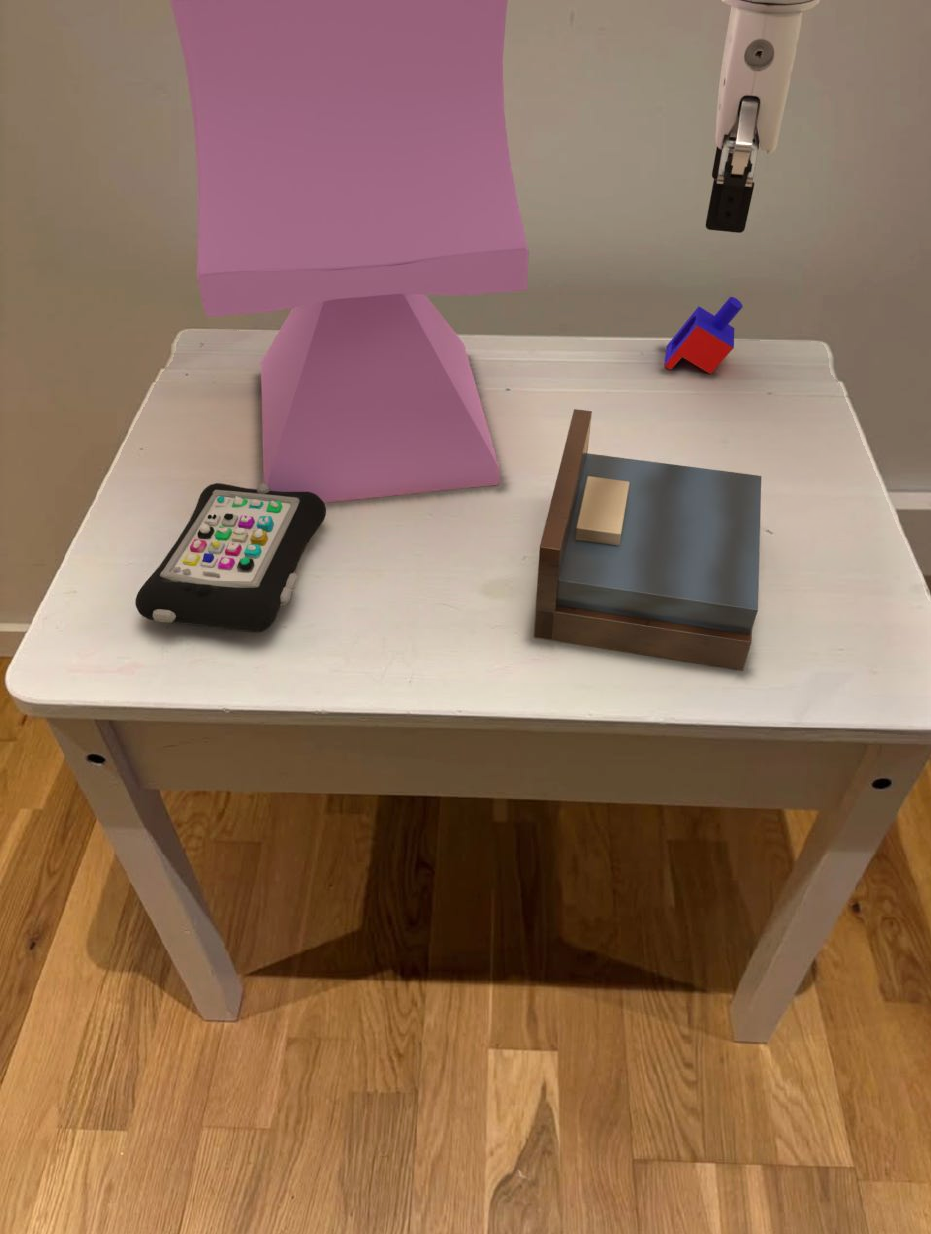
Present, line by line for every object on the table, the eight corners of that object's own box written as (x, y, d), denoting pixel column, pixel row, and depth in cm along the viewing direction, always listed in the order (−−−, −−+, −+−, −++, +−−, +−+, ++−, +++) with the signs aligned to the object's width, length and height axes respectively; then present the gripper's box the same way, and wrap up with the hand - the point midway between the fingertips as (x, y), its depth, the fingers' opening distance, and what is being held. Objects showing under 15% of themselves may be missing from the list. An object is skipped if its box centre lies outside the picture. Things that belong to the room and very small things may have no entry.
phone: (333, 517, 81) (327, 474, 78) (278, 654, 71) (268, 612, 68) (209, 503, 83) (198, 461, 79) (137, 636, 72) (121, 594, 69)
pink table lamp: (518, 493, 83) (548, -190, 50) (250, 521, 81) (98, -174, 48) (475, 350, 98) (477, -248, 66) (249, 370, 96) (132, -238, 63)
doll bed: (748, 523, 81) (773, 433, 74) (742, 670, 70) (771, 580, 63) (566, 498, 83) (574, 408, 76) (533, 637, 72) (539, 547, 66)
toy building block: (699, 387, 97) (753, 325, 91) (663, 365, 96) (715, 302, 90) (701, 367, 99) (753, 306, 93) (666, 346, 98) (716, 283, 92)
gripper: (827, 16, 67) (769, 256, 79) (822, -54, 78) (772, 165, 91) (714, 9, 68) (675, 246, 80) (725, -60, 79) (689, 158, 92)
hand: (726, 203), depth 85 cm, fingers open, 9 cm apart
